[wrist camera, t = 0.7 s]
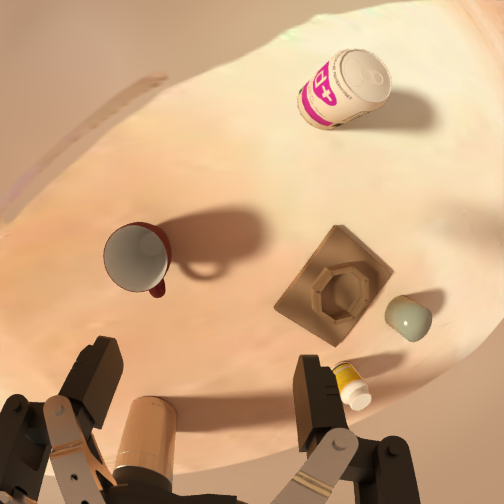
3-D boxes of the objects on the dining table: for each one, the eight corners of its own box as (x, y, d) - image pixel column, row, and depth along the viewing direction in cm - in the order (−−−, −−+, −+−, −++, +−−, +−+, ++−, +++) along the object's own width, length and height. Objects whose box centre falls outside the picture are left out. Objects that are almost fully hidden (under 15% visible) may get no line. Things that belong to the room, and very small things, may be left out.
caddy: (333, 344, 49) (341, 354, 46) (273, 306, 46) (278, 316, 42) (387, 272, 48) (398, 278, 44) (333, 225, 45) (343, 228, 41)
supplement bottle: (321, 376, 50) (341, 408, 41) (341, 356, 50) (364, 385, 40) (339, 387, 52) (359, 417, 42) (357, 367, 51) (381, 395, 42)
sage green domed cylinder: (396, 331, 51) (416, 347, 44) (379, 317, 49) (399, 333, 43) (415, 305, 50) (437, 318, 44) (398, 289, 49) (421, 302, 42)
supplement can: (296, 128, 41) (336, 100, 26) (295, 80, 39) (331, 37, 25) (344, 133, 42) (398, 114, 27) (342, 87, 40) (391, 54, 26)
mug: (194, 271, 43) (190, 293, 33) (148, 293, 43) (133, 320, 33) (162, 207, 40) (148, 211, 31) (116, 231, 40) (92, 243, 30)
